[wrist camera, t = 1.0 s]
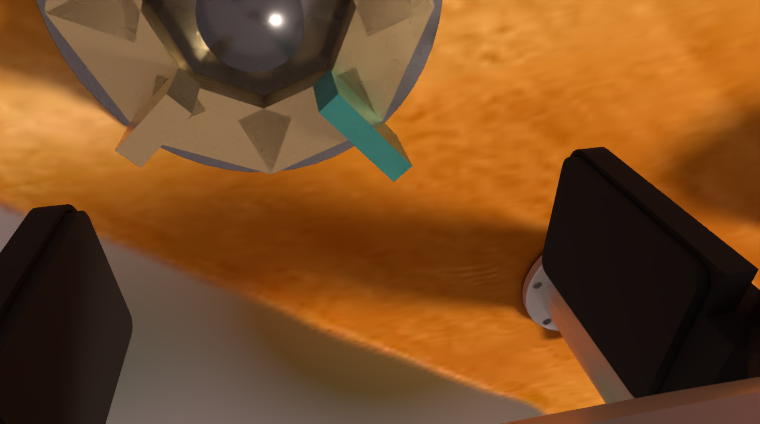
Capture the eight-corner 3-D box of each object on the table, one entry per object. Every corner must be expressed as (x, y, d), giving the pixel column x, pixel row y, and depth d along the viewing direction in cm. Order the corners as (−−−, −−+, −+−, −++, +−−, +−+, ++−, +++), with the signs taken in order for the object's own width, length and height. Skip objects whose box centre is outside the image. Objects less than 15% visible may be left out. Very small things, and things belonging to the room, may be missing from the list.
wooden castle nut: (455, 99, 33) (489, 139, 28) (212, 207, 34) (203, 265, 29) (335, -291, 21) (357, -344, 16) (-25, -111, 22) (-110, -108, 17)
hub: (484, 82, 34) (536, 130, 27) (192, 212, 35) (176, 287, 29) (366, -371, 21) (410, -481, 15) (-85, -141, 22) (-228, -149, 16)
